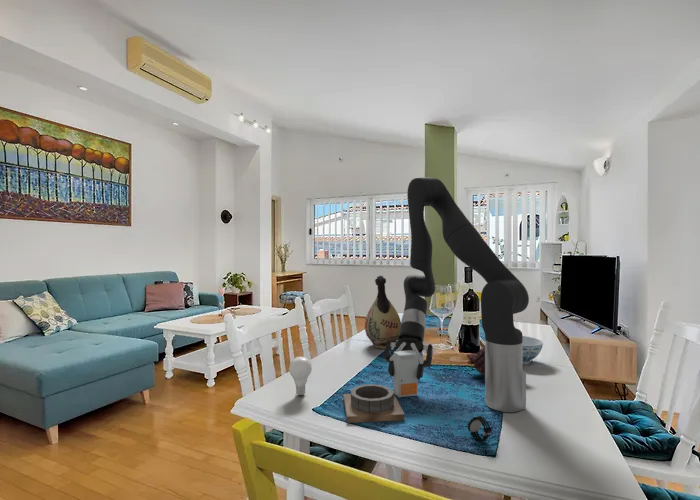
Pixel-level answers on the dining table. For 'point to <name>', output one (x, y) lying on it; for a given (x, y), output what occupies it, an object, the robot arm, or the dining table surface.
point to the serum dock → (372, 404)
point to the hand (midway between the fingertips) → (404, 376)
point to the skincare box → (405, 373)
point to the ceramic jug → (382, 319)
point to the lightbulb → (300, 373)
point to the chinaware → (531, 348)
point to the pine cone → (478, 361)
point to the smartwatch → (476, 425)
